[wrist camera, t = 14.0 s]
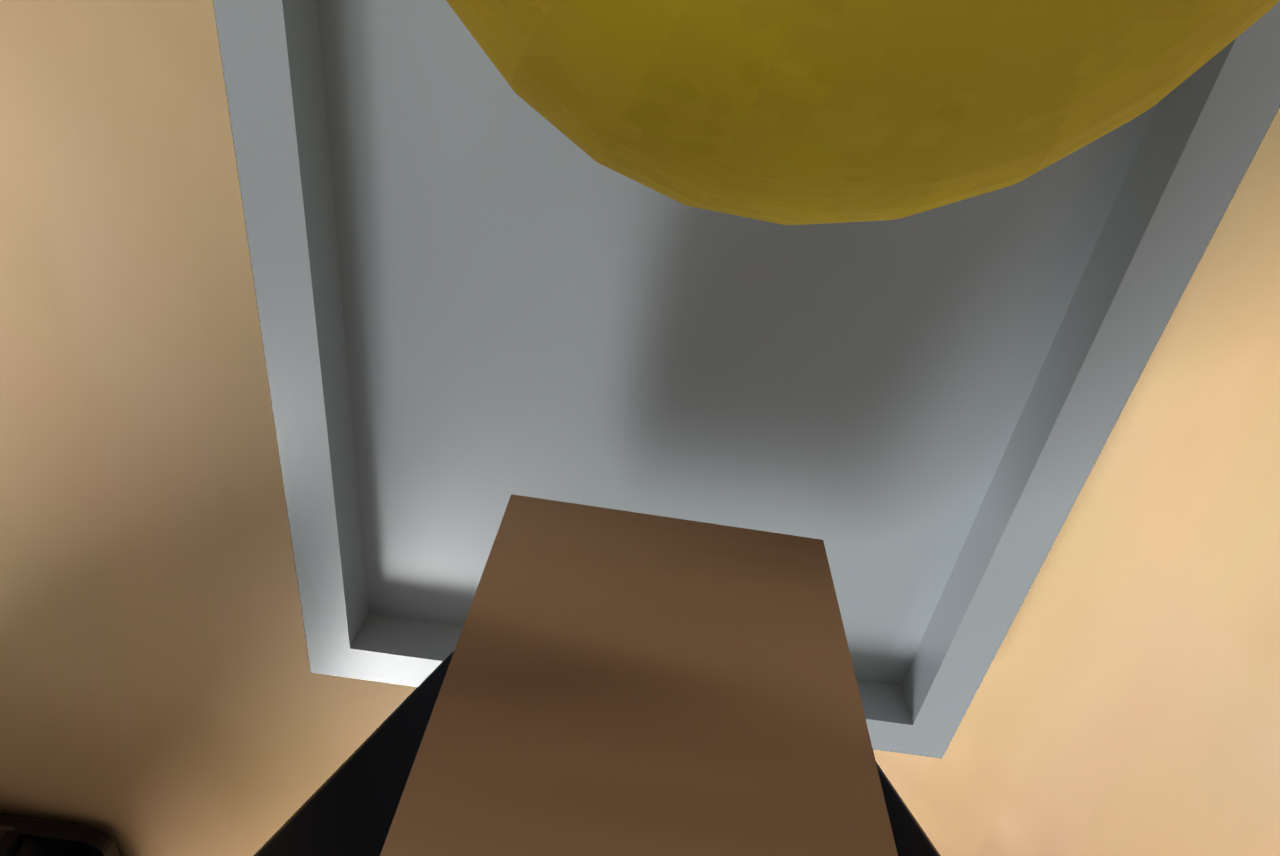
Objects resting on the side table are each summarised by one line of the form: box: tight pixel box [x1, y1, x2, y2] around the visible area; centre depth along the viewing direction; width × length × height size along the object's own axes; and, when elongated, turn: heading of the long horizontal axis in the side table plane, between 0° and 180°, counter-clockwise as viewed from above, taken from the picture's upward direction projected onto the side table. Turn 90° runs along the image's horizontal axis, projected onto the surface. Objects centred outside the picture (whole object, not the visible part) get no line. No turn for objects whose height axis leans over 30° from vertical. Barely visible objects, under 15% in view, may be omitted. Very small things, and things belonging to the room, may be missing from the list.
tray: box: [213, 0, 1280, 759], centre depth 10 cm, size 18×12×2 cm, turn 174°
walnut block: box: [380, 494, 898, 856], centre depth 8 cm, size 4×4×5 cm
